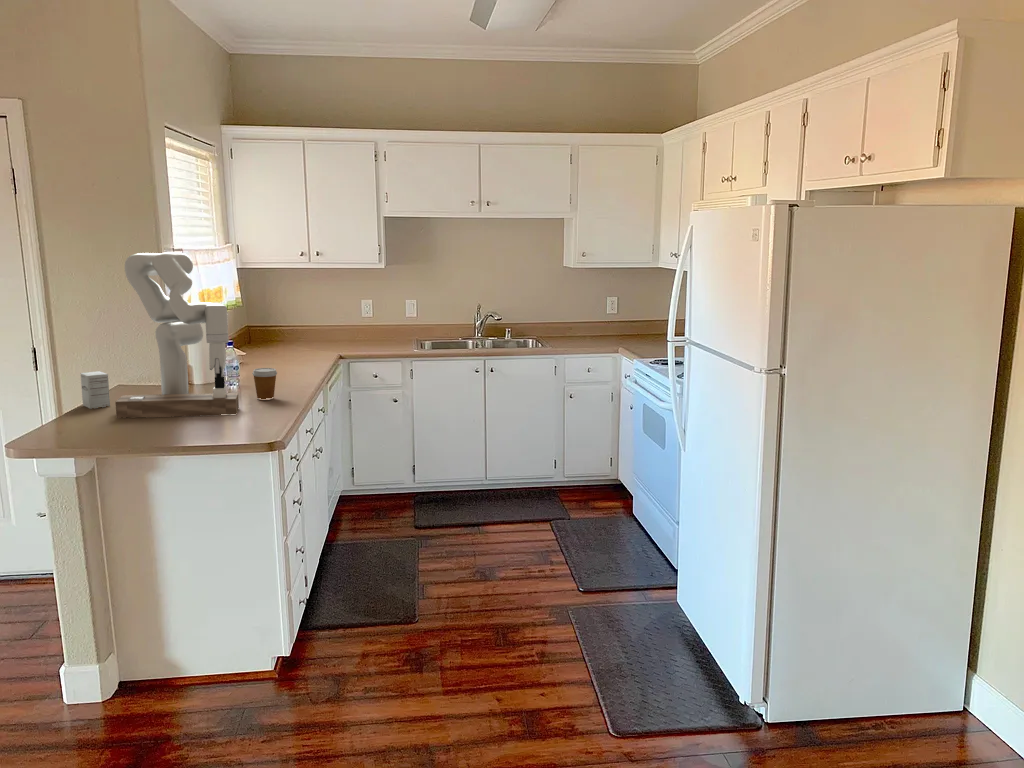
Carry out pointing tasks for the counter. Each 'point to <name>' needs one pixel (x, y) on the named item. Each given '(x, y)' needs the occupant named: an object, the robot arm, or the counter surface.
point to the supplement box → (95, 389)
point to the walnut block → (176, 405)
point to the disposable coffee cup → (265, 382)
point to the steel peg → (136, 398)
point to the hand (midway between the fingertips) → (219, 387)
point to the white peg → (219, 392)
